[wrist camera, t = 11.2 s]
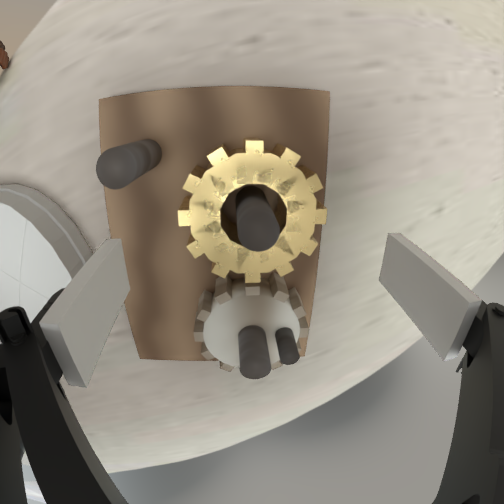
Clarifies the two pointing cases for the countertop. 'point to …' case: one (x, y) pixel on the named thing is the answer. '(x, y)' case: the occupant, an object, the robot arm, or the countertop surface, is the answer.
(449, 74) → the countertop surface
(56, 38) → the countertop surface
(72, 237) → the dish
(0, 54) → the brown curved piece
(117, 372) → the countertop surface
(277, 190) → the brass gear
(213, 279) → the gear board
